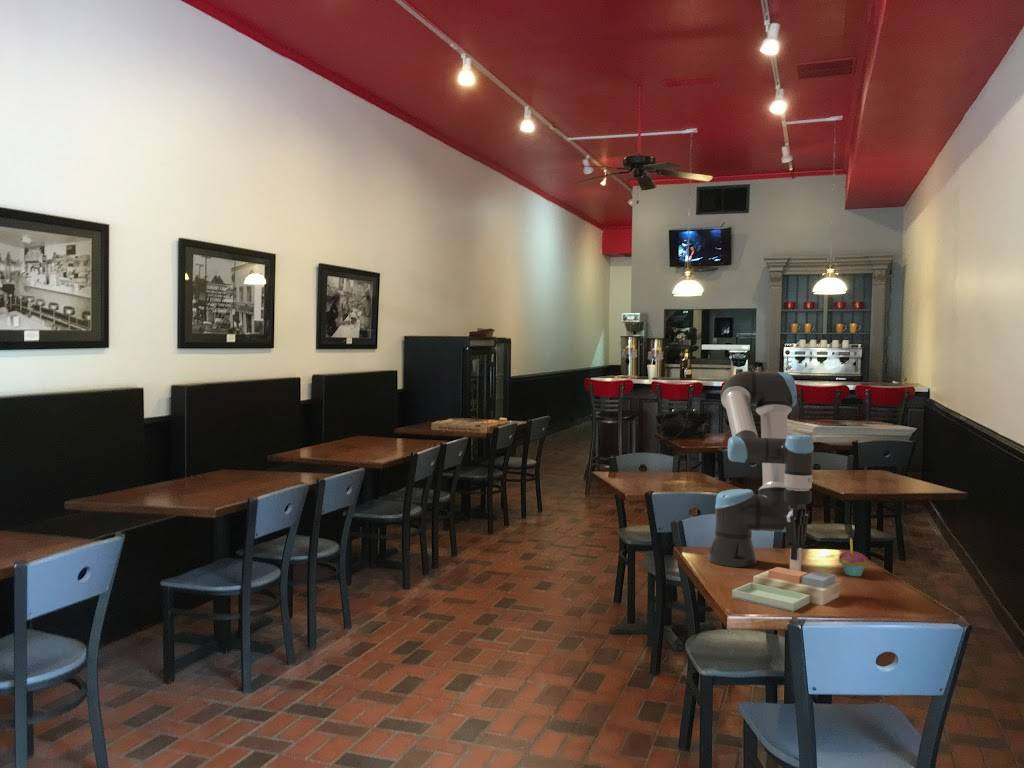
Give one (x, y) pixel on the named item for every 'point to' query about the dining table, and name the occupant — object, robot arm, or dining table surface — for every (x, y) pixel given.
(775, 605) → the tray
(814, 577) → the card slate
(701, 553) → the dining table surface
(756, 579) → the beige flat box
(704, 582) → the dining table surface
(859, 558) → the cupcake
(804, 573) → the orange flat block
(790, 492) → the robot arm
